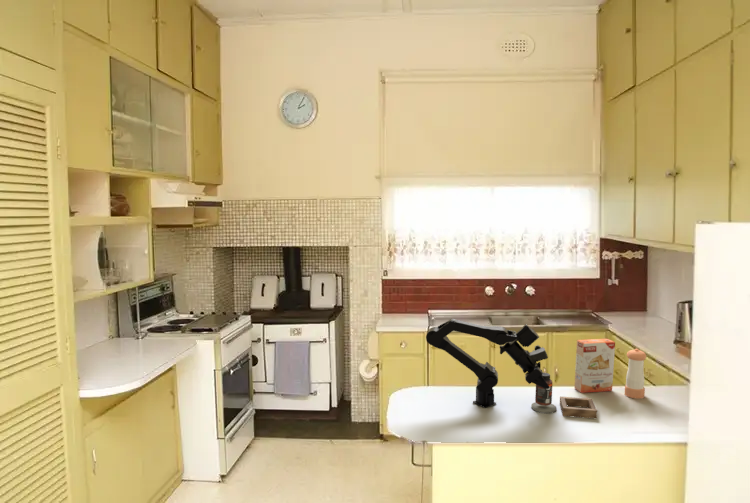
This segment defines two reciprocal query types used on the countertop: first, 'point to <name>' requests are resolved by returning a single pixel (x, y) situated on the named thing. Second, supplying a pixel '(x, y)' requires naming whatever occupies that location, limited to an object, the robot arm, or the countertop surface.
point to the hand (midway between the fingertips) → (547, 385)
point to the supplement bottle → (544, 392)
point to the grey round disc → (543, 408)
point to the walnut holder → (578, 412)
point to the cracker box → (594, 365)
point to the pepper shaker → (635, 374)
